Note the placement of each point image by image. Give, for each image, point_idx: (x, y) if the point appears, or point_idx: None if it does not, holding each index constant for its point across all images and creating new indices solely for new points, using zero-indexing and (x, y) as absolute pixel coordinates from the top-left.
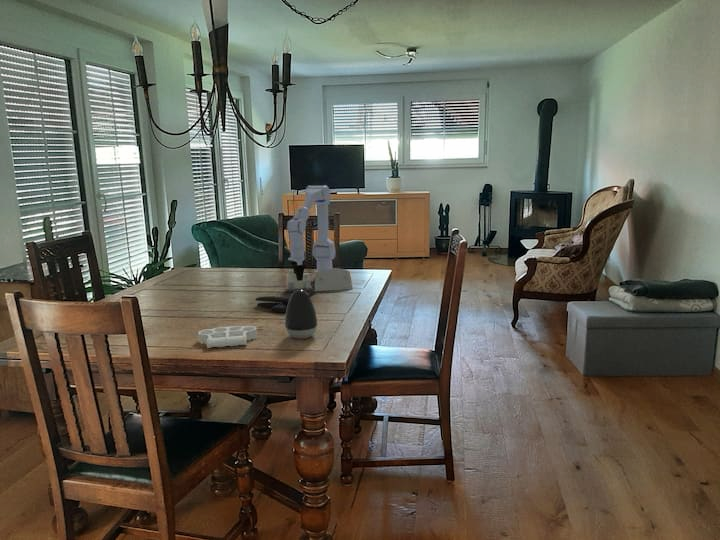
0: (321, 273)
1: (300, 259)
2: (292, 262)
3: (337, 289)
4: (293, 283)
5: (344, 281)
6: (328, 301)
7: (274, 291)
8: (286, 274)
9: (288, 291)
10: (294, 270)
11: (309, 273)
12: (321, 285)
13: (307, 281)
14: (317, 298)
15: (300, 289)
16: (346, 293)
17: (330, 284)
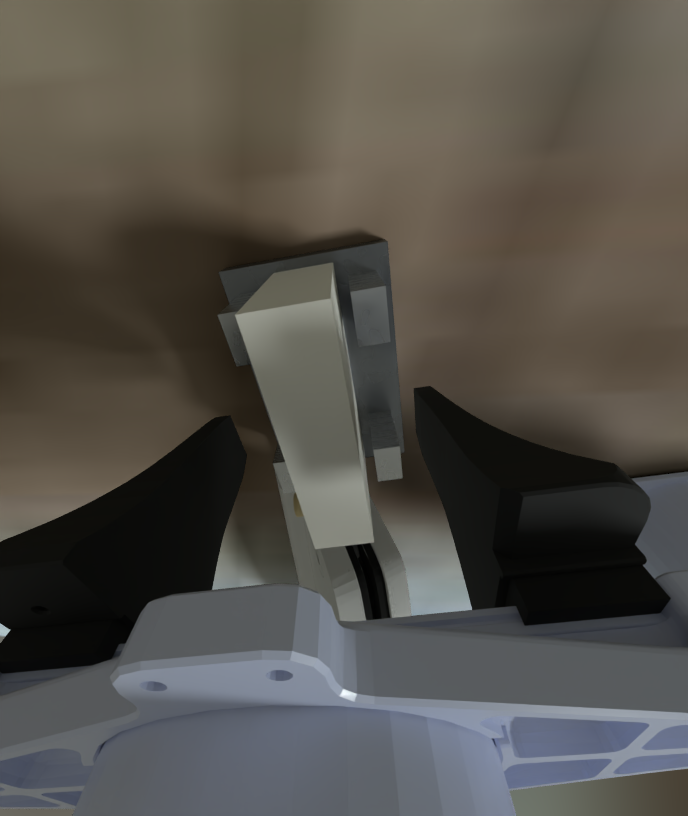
0: (334, 605)
1: (46, 799)
2: (494, 519)
3: (294, 561)
4: (236, 360)
5: None
6: (22, 528)
7: (294, 90)
8: (324, 302)
9: (226, 282)
10: (441, 430)
11: (336, 544)
12: (300, 523)
13: (288, 477)
14: (75, 483)
15: (260, 390)
16: (215, 584)
17: (311, 562)
